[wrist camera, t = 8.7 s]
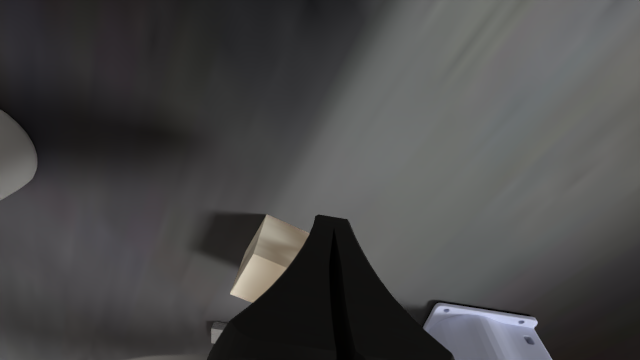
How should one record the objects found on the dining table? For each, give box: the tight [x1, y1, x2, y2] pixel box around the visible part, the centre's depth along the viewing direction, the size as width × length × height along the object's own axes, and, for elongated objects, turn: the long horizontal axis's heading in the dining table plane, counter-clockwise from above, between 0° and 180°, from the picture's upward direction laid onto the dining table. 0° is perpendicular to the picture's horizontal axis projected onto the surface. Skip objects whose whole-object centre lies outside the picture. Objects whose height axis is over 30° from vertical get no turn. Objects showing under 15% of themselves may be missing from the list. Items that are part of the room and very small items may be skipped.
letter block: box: [230, 215, 309, 303], centre depth 24 cm, size 4×5×4 cm
